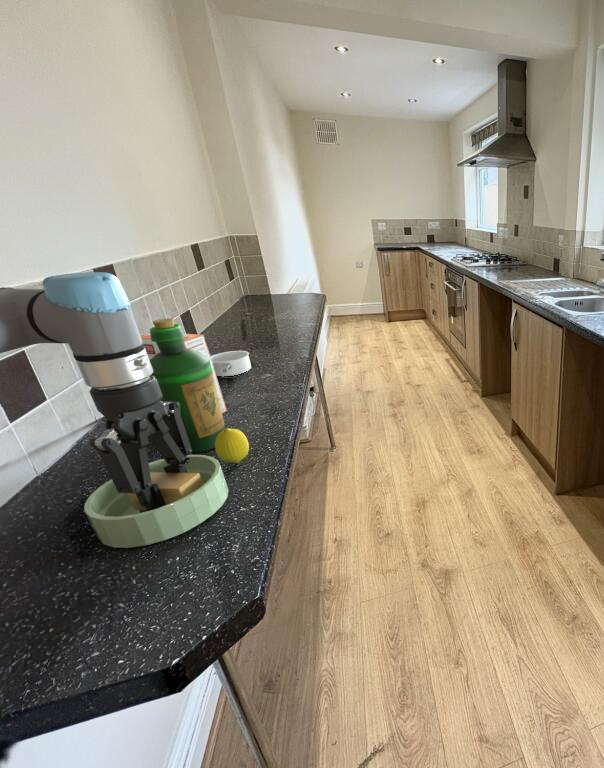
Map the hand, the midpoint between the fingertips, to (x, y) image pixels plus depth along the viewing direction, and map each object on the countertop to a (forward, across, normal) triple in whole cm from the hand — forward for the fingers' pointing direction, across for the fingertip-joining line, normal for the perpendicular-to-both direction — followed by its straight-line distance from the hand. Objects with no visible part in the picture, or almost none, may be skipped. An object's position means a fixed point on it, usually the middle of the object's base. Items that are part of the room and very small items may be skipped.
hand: (173, 507), depth 70 cm
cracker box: (+1, +36, +24) cm, 43 cm away
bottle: (+1, +22, +11) cm, 25 cm away
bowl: (+1, 0, +1) cm, 2 cm away
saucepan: (+1, +62, +32) cm, 70 cm away
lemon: (+1, +15, -1) cm, 15 cm away
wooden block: (0, 0, 0) cm, 0 cm away
